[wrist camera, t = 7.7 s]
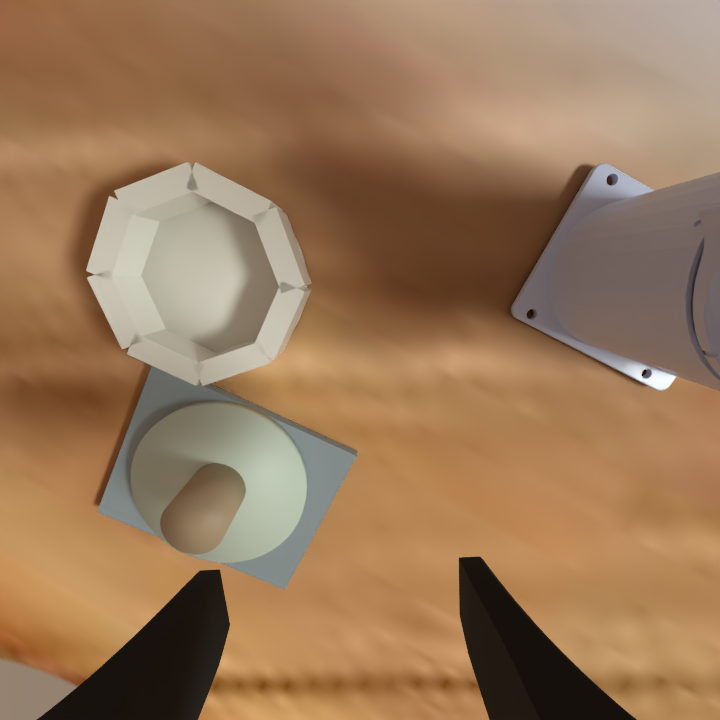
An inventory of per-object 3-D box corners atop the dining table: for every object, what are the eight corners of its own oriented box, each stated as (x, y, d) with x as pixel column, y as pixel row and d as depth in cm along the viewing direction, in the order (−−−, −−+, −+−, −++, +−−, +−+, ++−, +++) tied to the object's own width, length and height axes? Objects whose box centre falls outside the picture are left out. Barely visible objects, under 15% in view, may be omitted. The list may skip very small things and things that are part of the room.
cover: (309, 404, 20) (296, 436, 16) (306, 556, 22) (294, 616, 18) (131, 396, 20) (76, 425, 16) (146, 548, 22) (100, 607, 18)
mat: (356, 451, 21) (356, 455, 21) (286, 582, 24) (284, 589, 23) (158, 360, 20) (152, 363, 20) (104, 505, 22) (97, 511, 22)
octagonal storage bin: (336, 238, 19) (331, 231, 16) (267, 391, 21) (251, 410, 18) (168, 152, 18) (130, 128, 15) (111, 319, 20) (68, 327, 17)
